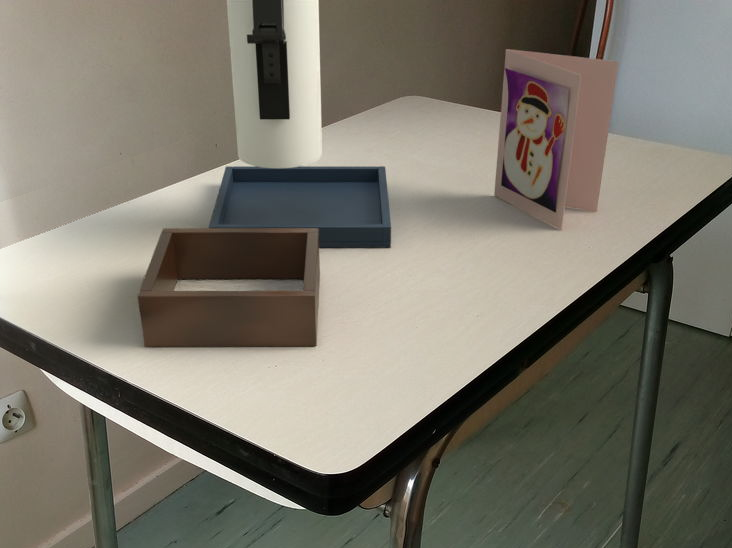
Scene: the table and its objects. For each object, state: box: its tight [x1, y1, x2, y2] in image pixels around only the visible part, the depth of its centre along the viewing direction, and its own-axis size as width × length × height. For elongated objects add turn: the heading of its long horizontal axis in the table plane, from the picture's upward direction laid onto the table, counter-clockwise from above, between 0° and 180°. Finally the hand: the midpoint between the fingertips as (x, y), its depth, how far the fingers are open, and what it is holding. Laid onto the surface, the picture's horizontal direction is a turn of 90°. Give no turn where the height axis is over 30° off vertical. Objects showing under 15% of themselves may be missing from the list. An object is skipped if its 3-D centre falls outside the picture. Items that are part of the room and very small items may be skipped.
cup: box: [226, 0, 323, 168], centre depth 94 cm, size 8×8×16 cm
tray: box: [208, 165, 392, 249], centre depth 105 cm, size 18×18×2 cm
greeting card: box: [493, 48, 619, 231], centre depth 103 cm, size 11×7×15 cm, turn 31°
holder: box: [136, 227, 321, 348], centre depth 86 cm, size 14×14×4 cm
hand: (277, 104), depth 96 cm, fingers closed on cup, 8 cm apart
